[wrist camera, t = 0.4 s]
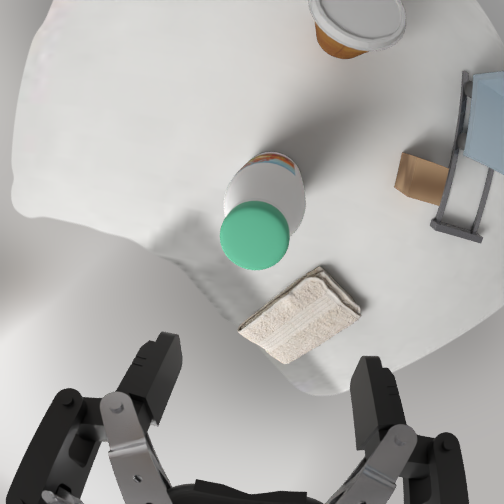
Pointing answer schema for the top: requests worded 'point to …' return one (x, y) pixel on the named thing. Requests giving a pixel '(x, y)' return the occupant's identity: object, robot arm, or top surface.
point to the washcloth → (301, 317)
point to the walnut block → (421, 179)
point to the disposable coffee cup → (357, 25)
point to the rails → (437, 222)
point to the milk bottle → (262, 211)
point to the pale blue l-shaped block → (485, 121)
